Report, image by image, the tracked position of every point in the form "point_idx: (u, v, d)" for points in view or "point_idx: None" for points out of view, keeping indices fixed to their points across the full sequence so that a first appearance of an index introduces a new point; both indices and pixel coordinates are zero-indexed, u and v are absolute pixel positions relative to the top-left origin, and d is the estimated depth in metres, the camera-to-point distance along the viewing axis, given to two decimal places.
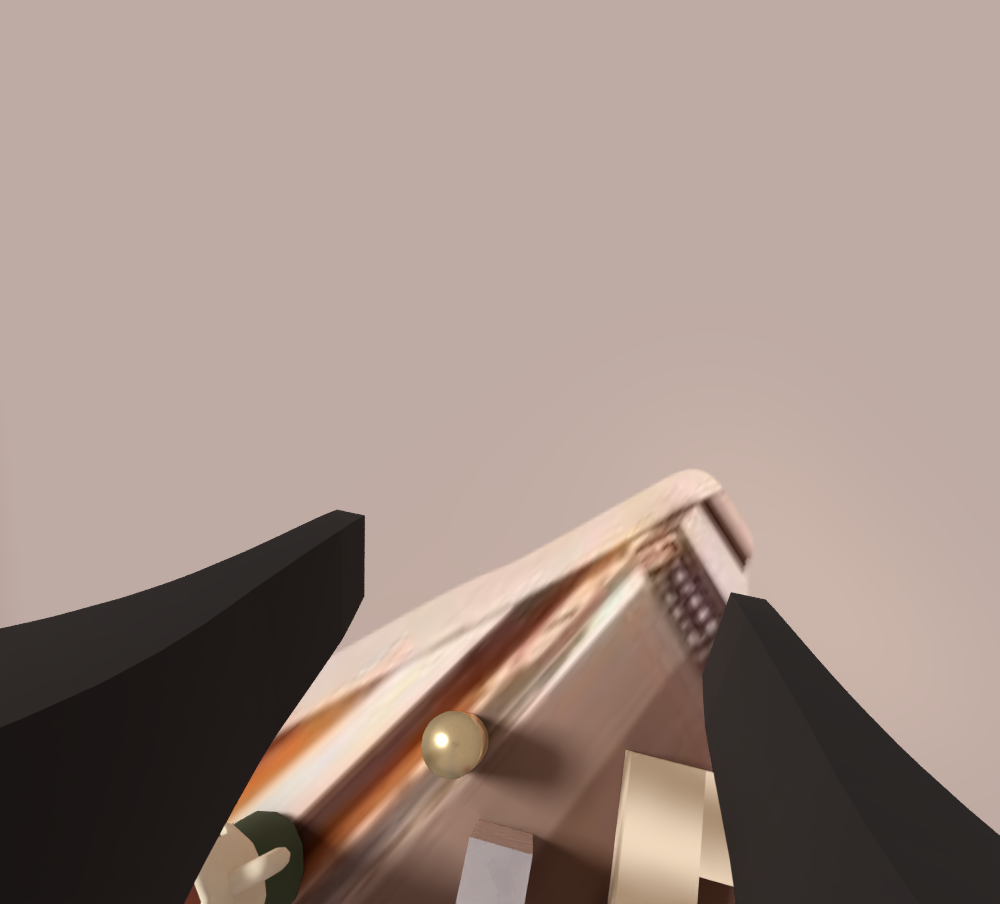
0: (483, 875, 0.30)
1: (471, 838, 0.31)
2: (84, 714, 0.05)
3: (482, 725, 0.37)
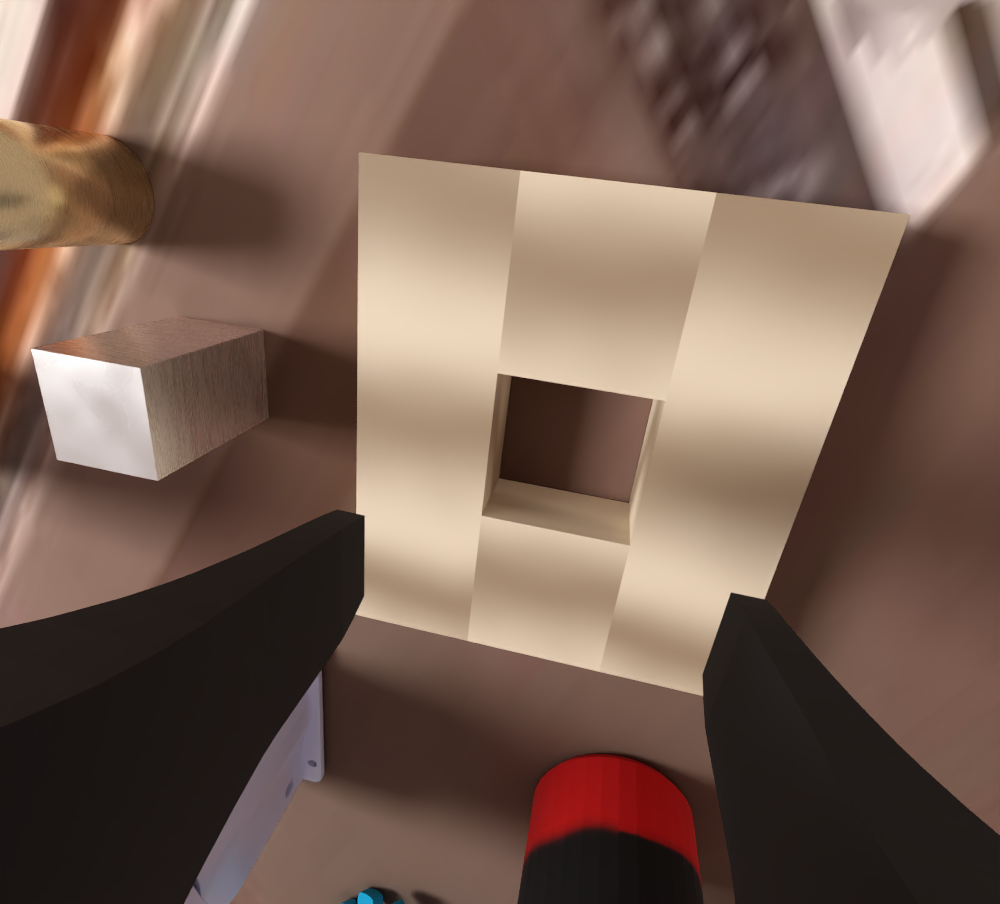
0: (76, 405, 0.17)
1: (34, 351, 0.16)
2: (84, 714, 0.05)
3: (84, 148, 0.18)
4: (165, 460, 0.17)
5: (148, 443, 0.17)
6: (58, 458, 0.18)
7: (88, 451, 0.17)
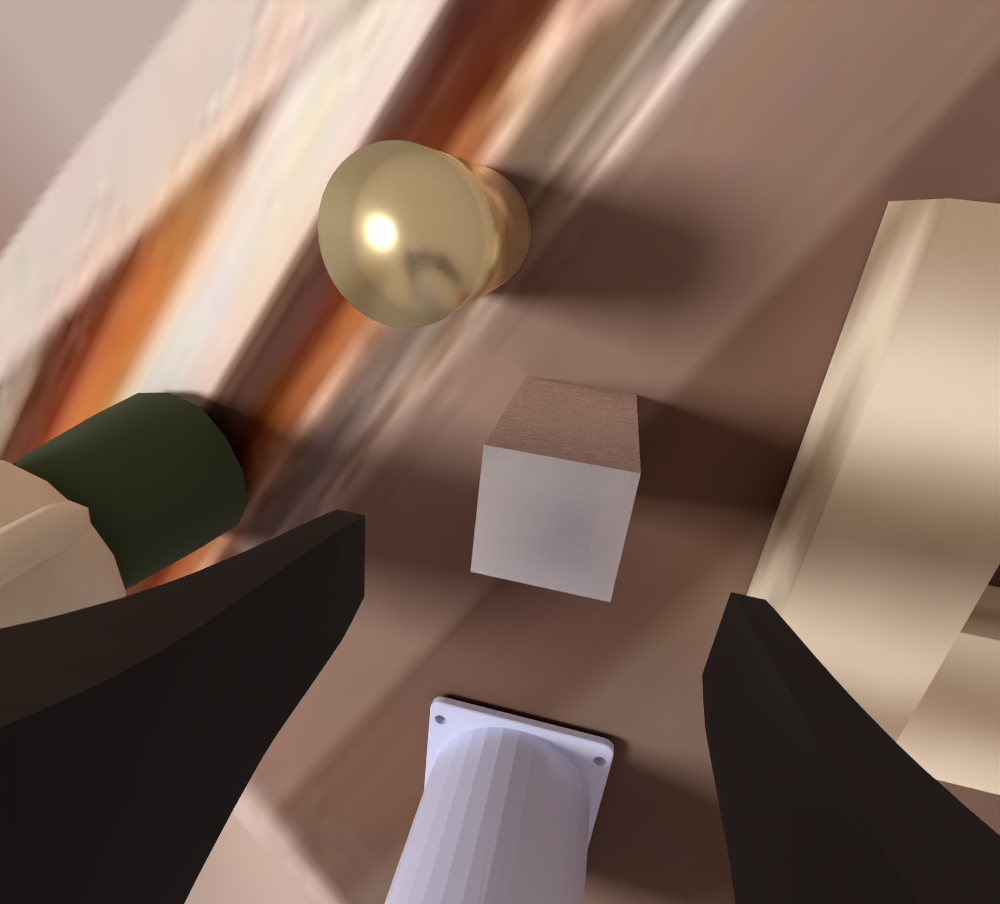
0: (524, 511, 0.13)
1: (488, 447, 0.13)
2: (84, 714, 0.05)
3: (503, 186, 0.14)
4: None
5: (614, 559, 0.13)
6: (472, 570, 0.14)
7: (520, 564, 0.14)
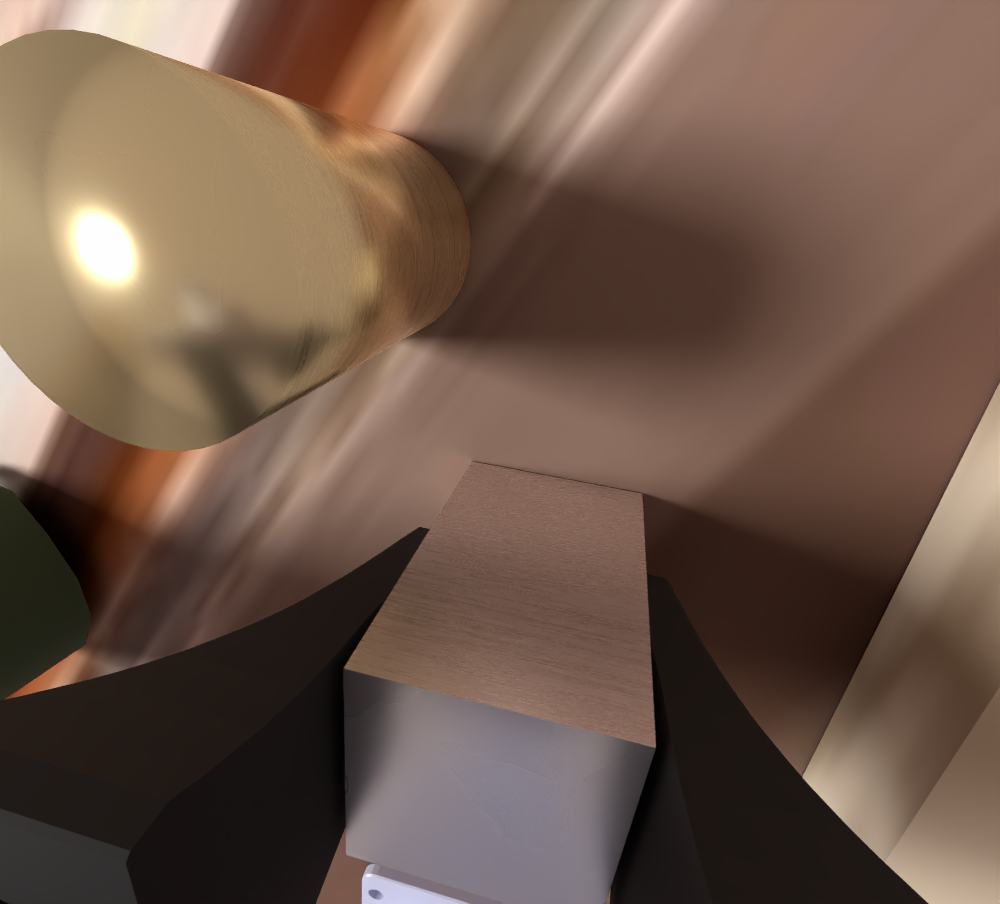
0: (431, 782, 0.07)
1: (351, 675, 0.06)
2: (249, 761, 0.05)
3: (405, 161, 0.08)
4: None
5: (603, 874, 0.07)
6: (349, 852, 0.08)
7: (431, 857, 0.08)
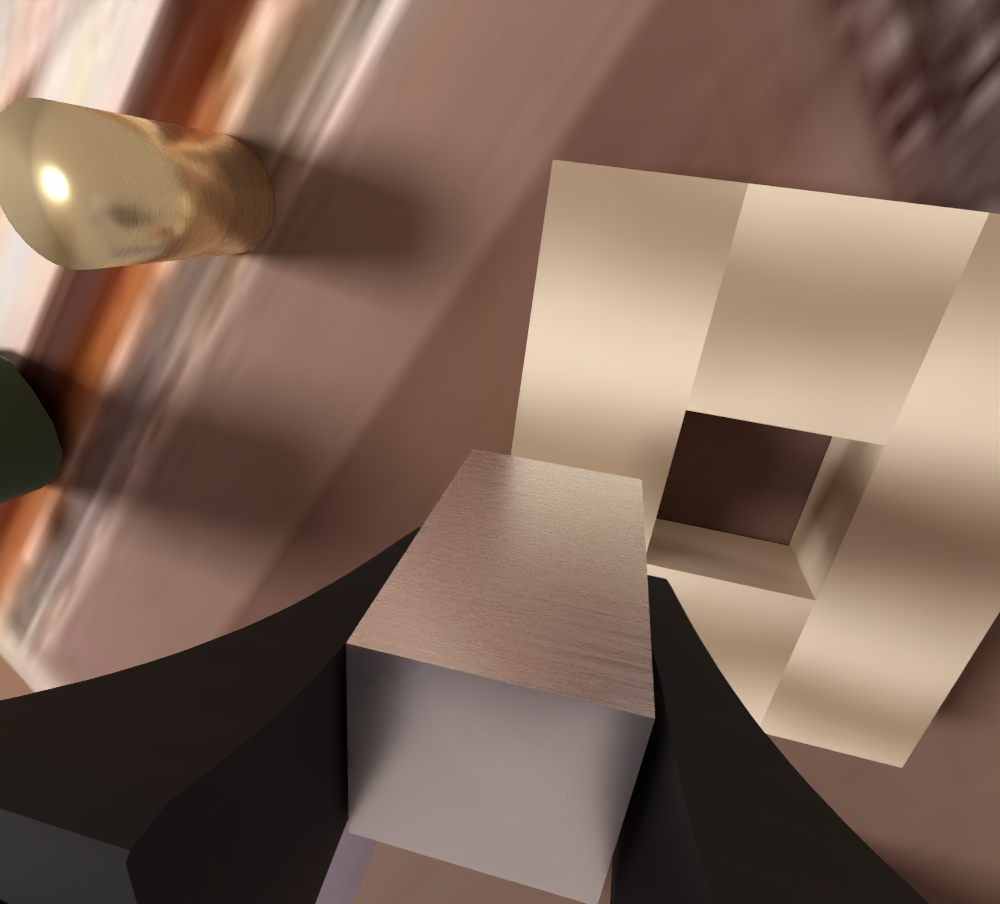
0: (433, 756, 0.07)
1: (354, 649, 0.07)
2: (248, 761, 0.05)
3: (214, 149, 0.16)
4: None
5: (603, 848, 0.07)
6: (352, 830, 0.08)
7: (433, 833, 0.08)
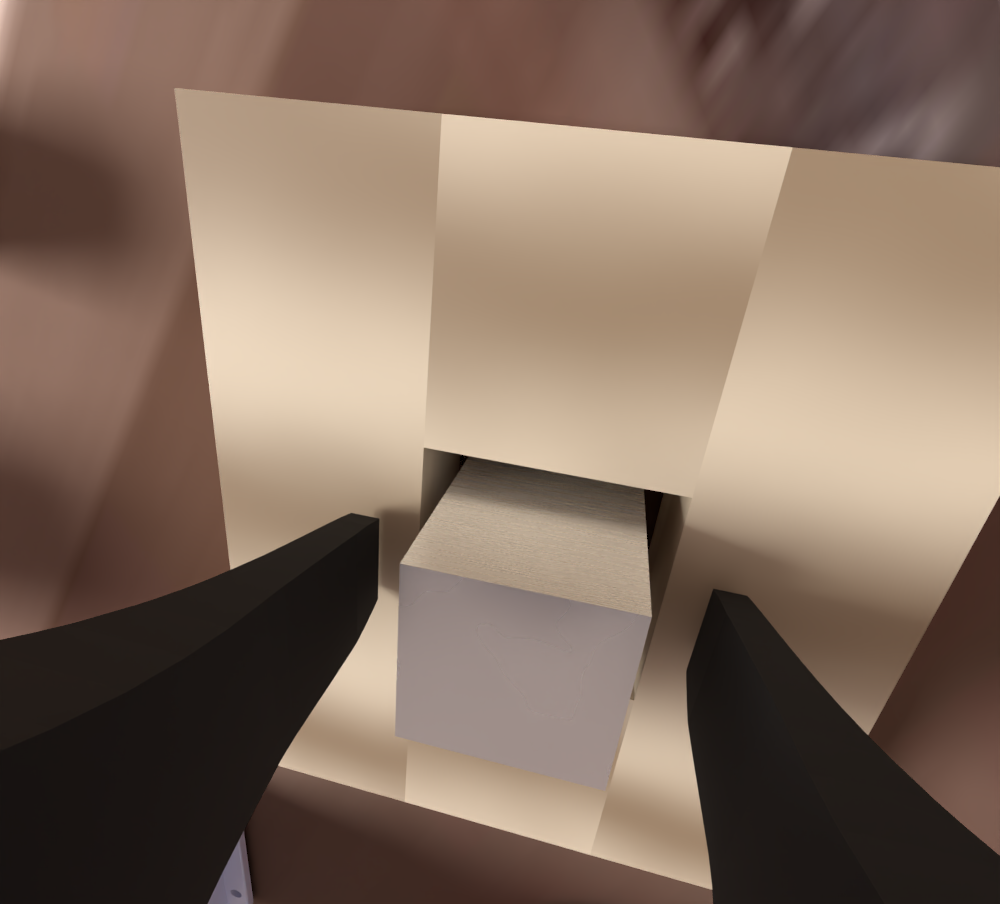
0: (469, 661, 0.09)
1: (406, 568, 0.08)
2: (112, 722, 0.05)
3: None
4: None
5: (610, 736, 0.09)
6: (398, 734, 0.10)
7: (467, 732, 0.09)
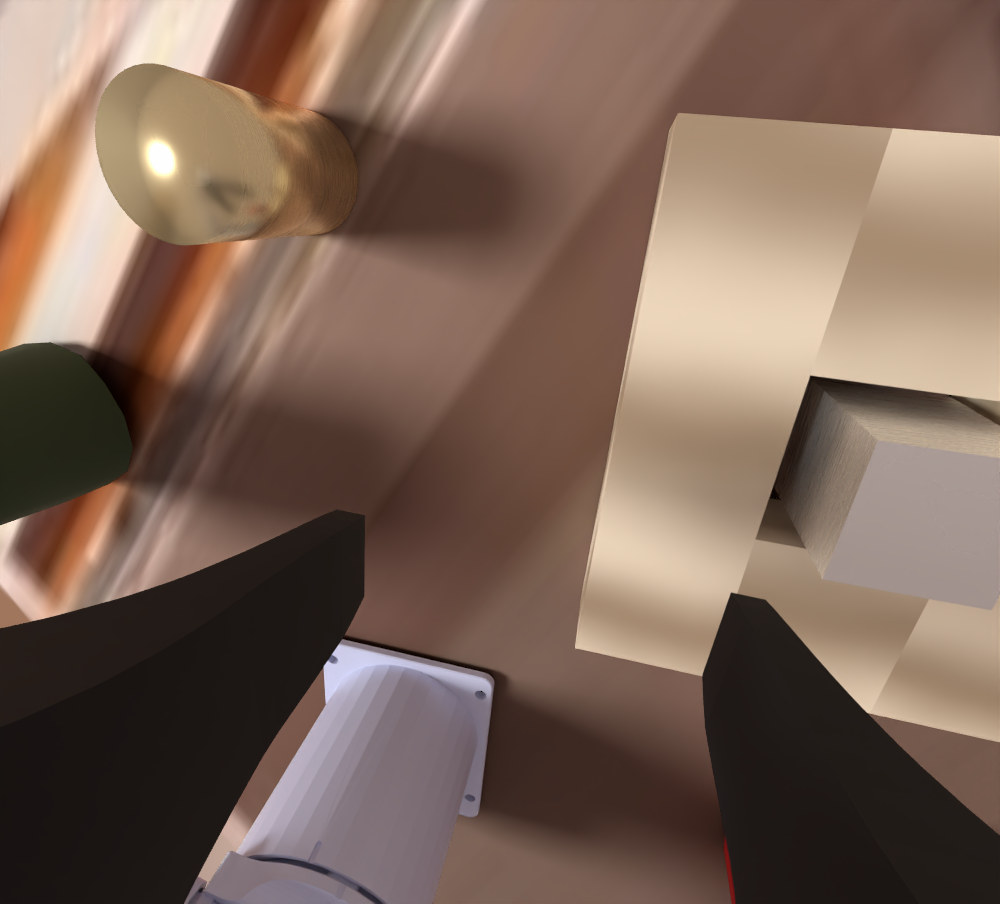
0: (909, 512, 0.12)
1: (882, 443, 0.12)
2: (84, 714, 0.05)
3: (306, 122, 0.15)
4: None
5: None
6: (825, 577, 0.13)
7: (888, 571, 0.13)
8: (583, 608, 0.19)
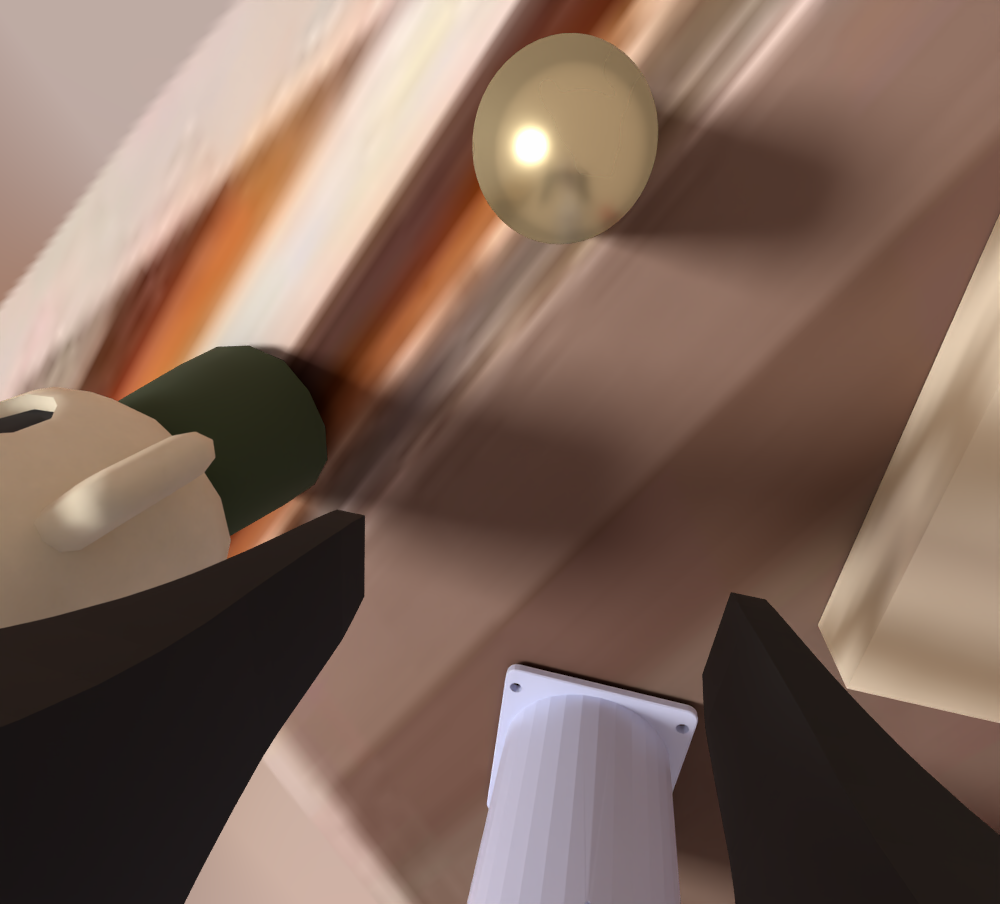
0: None
1: None
2: (84, 714, 0.05)
3: None
4: None
5: None
6: None
7: None
8: (868, 646, 0.17)
